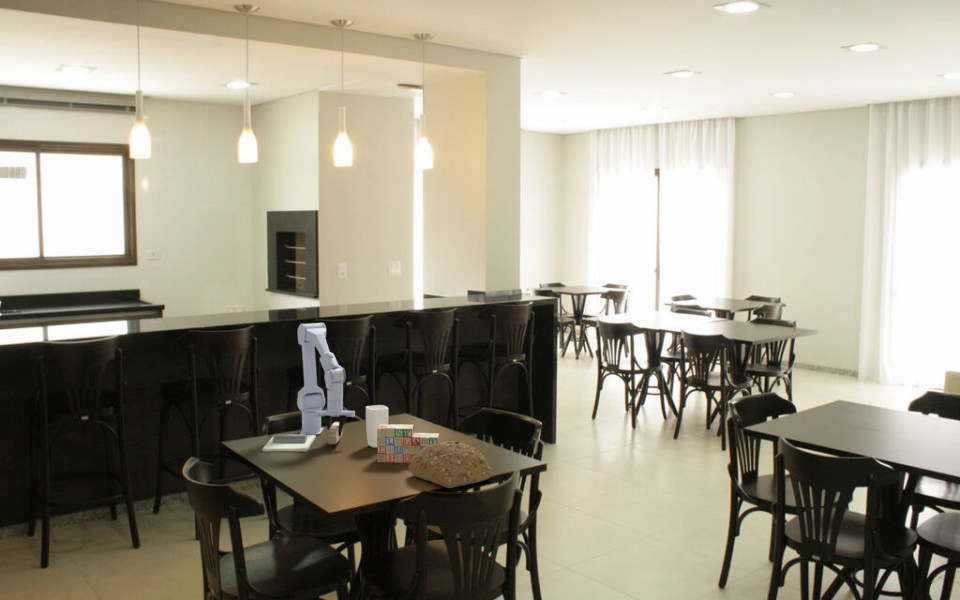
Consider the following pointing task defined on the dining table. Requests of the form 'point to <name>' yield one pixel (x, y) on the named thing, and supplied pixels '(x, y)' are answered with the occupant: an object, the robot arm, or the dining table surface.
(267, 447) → the fulcrum stand
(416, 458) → the bread
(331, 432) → the beech rod
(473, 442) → the dining table surface
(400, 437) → the stack of blocks
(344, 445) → the dining table surface
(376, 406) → the cup
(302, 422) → the robot arm
